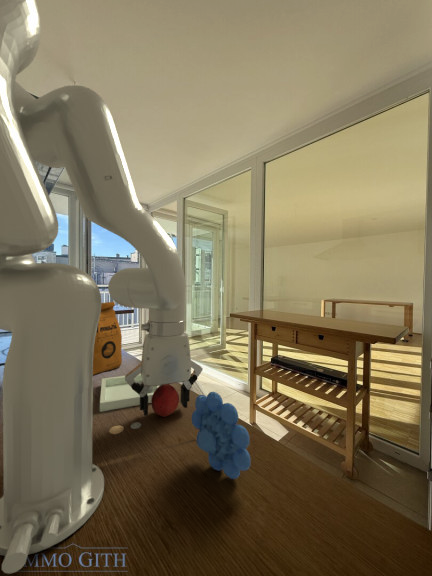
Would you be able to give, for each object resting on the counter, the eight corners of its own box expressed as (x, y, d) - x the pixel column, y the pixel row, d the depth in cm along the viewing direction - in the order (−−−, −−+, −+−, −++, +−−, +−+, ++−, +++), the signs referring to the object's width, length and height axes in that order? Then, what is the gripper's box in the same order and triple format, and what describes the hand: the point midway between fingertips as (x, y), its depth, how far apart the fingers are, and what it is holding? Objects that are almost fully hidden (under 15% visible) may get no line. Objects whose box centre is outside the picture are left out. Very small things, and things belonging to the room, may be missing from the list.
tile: (149, 434, 47) (149, 431, 47) (103, 445, 44) (103, 441, 44) (145, 418, 52) (145, 415, 52) (104, 426, 49) (104, 423, 49)
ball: (154, 398, 60) (154, 382, 60) (137, 401, 58) (137, 384, 58) (151, 391, 64) (151, 376, 63) (135, 393, 62) (135, 378, 62)
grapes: (173, 465, 39) (174, 392, 39) (202, 444, 44) (203, 379, 44) (230, 511, 32) (233, 421, 31) (257, 480, 37) (260, 402, 36)
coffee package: (126, 368, 81) (126, 302, 80) (88, 380, 71) (88, 304, 70) (109, 361, 86) (109, 300, 86) (72, 372, 76) (72, 302, 76)
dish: (163, 402, 59) (164, 392, 59) (99, 414, 53) (99, 403, 53) (154, 380, 72) (154, 372, 72) (101, 387, 66) (101, 378, 66)
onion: (161, 428, 49) (162, 389, 49) (145, 416, 53) (146, 380, 52) (183, 416, 53) (184, 380, 53) (167, 407, 57) (168, 373, 57)
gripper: (124, 334, 45) (123, 427, 46) (210, 329, 52) (208, 409, 53) (122, 327, 52) (121, 407, 53) (199, 323, 59) (197, 394, 60)
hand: (165, 408), depth 53 cm, fingers open, 7 cm apart
